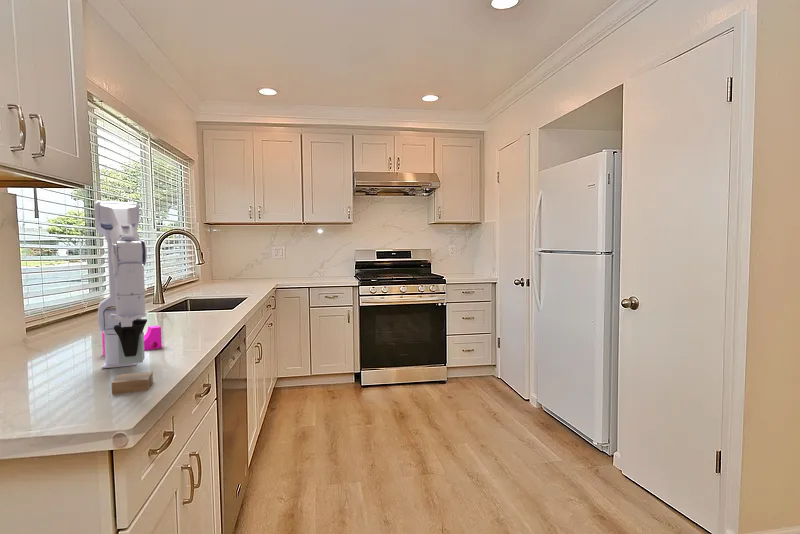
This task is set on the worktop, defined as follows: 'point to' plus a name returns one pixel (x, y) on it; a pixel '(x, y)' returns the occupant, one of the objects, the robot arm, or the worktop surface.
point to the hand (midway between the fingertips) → (132, 353)
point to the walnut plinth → (132, 382)
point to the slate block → (132, 359)
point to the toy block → (146, 338)
